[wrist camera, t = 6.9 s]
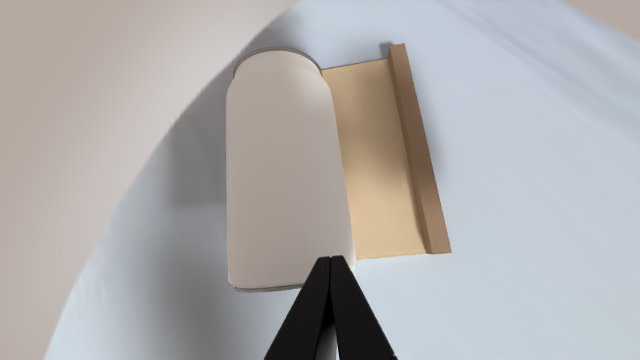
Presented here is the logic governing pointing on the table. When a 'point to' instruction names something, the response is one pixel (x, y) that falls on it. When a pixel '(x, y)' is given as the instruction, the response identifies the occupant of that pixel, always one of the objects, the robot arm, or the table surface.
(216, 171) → the table surface
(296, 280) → the can
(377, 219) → the wooden tray
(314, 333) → the robot arm
